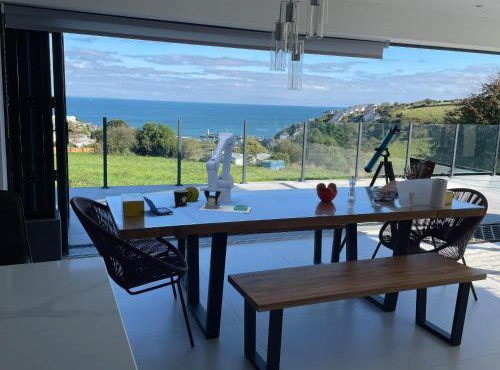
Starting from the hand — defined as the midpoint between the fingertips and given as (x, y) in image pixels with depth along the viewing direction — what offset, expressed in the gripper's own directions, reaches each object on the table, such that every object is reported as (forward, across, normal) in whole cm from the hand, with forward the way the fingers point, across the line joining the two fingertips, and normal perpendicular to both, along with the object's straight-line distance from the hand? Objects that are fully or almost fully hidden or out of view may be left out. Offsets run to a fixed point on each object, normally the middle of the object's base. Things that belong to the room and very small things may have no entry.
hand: (212, 203), depth 273 cm
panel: (+3, +8, 0) cm, 9 cm away
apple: (+4, -17, +16) cm, 24 cm away
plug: (+2, 0, 0) cm, 2 cm away
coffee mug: (+4, -18, +2) cm, 18 cm away
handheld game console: (+4, -28, -15) cm, 32 cm away
